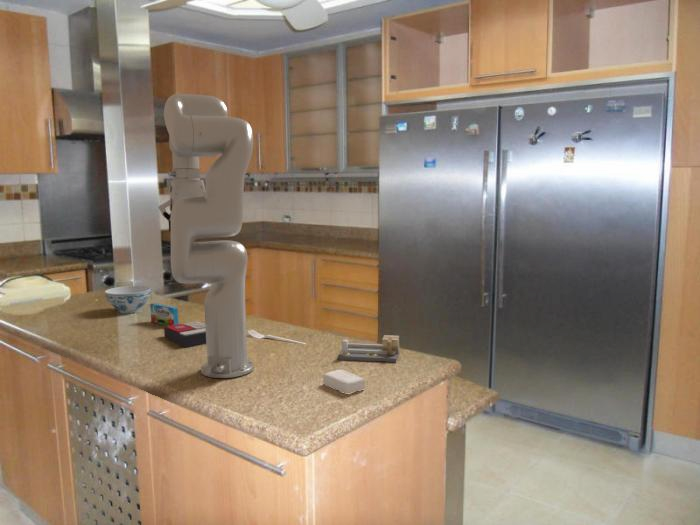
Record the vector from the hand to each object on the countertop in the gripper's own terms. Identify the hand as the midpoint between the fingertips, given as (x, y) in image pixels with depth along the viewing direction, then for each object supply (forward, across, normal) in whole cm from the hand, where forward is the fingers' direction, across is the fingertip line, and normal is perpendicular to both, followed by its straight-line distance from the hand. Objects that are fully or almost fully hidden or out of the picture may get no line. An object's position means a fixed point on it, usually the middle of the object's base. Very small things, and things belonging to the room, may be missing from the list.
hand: (189, 233), depth 174 cm
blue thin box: (+30, -5, +14) cm, 34 cm away
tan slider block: (+29, +33, -55) cm, 70 cm away
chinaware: (+30, -9, +40) cm, 51 cm away
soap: (+31, +10, -66) cm, 74 cm away
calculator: (+31, -4, -8) cm, 32 cm away
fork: (+31, +16, -23) cm, 42 cm away
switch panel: (+30, +28, -51) cm, 66 cm away
